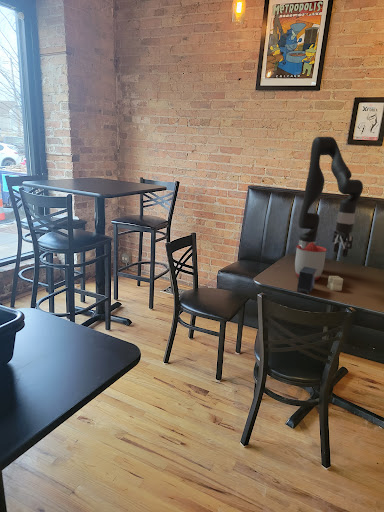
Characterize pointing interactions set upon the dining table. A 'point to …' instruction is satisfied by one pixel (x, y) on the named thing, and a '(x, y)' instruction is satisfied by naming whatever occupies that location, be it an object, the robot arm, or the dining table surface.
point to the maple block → (335, 283)
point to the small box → (306, 280)
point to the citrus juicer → (310, 258)
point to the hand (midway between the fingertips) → (340, 254)
